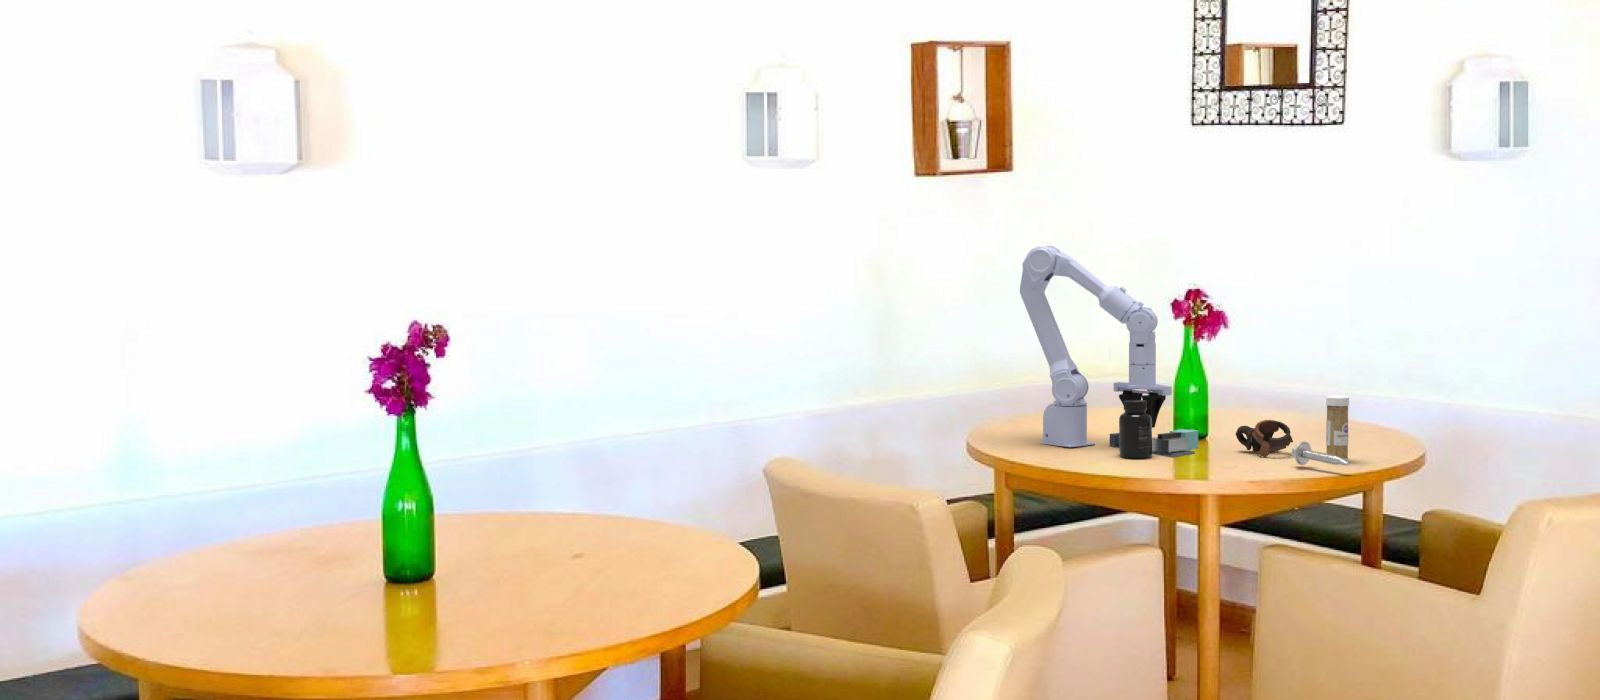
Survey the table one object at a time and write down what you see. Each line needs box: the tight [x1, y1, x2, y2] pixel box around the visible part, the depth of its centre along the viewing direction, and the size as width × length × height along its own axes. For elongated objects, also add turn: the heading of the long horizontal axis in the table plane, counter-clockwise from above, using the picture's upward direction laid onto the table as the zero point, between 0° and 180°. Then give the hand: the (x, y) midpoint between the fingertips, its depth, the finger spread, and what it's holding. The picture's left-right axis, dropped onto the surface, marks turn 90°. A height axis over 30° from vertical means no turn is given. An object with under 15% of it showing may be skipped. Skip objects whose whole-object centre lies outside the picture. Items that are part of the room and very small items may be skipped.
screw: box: [1291, 441, 1350, 466], centre depth 372 cm, size 13×5×5 cm, turn 37°
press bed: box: [1109, 432, 1196, 459], centre depth 398 cm, size 18×7×4 cm, turn 37°
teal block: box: [1169, 428, 1199, 451], centre depth 400 cm, size 4×5×4 cm
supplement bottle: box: [1118, 399, 1153, 460], centre depth 390 cm, size 7×7×12 cm
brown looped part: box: [1235, 419, 1294, 458], centre depth 392 cm, size 12×9×8 cm
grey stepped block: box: [1152, 432, 1189, 452], centre depth 394 cm, size 5×6×4 cm
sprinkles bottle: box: [1325, 394, 1350, 460], centre depth 381 cm, size 5×5×13 cm
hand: (1142, 426), depth 400 cm, fingers open, 4 cm apart
